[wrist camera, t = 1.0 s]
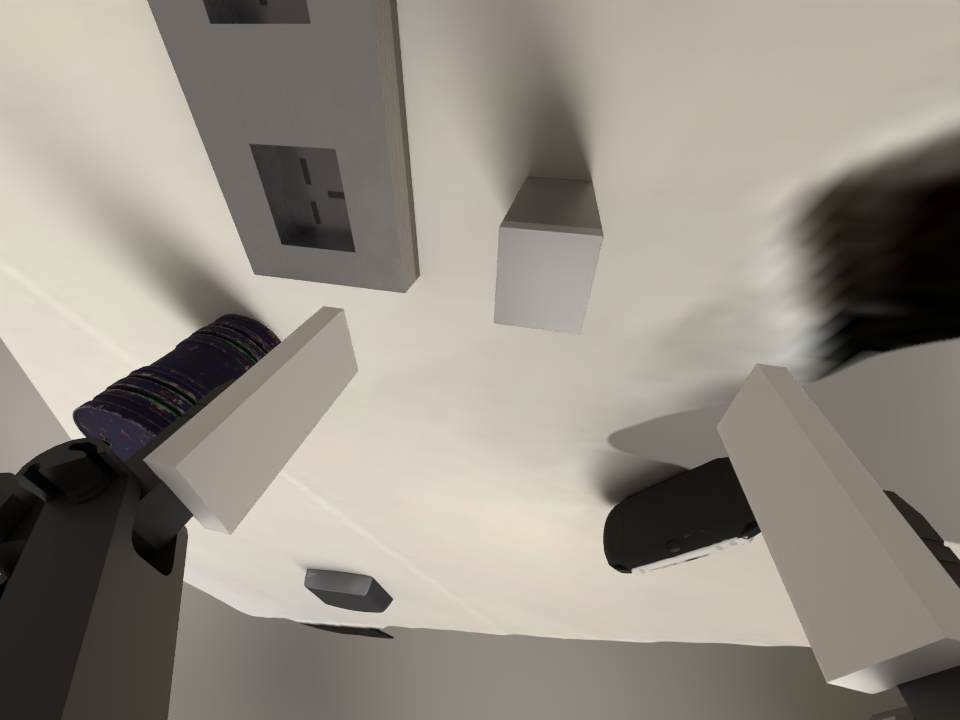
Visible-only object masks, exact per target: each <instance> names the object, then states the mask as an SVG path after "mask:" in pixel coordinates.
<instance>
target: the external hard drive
mask: <svg viewBox="0 0 960 720" xmlns="http://www.w3.org/2000/svg"><path fill="white" fill-rule="evenodd" d="M304 585H305V587H306V588H307V589H309V590H310V591H311V592H312V593H314V594H315V595H316V596H317V597H318V598H320V599H321V600H322V601H323V602H324V603H325V604H328V605H331V606H335V607H339V608H344V609H349V610H354V611H362V612H377V613H381V612H384V611H385V610H386V609H387V607H388V606H389V605H390V603H391V602H392V600H393V599H392V597H391V596H390V595H389V594H388V593H387V592H386V591H385V590H384V589H383V588H382V587H381V586H380V585H379V584H378V583H377V582H376V581H375V579H374V578H372V577H369V576H363V575H357V574H350V573H343V572H334V571H324V570H307V572H306V576H305V583H304Z"/></svg>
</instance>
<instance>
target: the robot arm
mask: <svg viewBox="0 0 960 720" xmlns="http://www.w3.org/2000/svg"><path fill="white" fill-rule="evenodd" d="M357 372H358V367H357V363H356V359H355V355H354V350H353V346H352V342H351V338H350V334H349V330H348V325H347V321H346V317H345V313H344V309H340V308H332V307H325V306H323V307H322V308H321V309H320V310H319V311H317V312H316V313H315V314H314V315H313V316H312V317H310V318H309V319H308V320H307V321H306V322H305V323H303V324H302V325H301V326H300V327H299V328H297V329H296V330H295V331H294V332H293V333H292V334H290V335H289V336H288V337H287V338H286V339H284V340H283V341H282V342H281V343H280V344H279V345H277V346H276V347H275V348H274V349H273V350H272V351H270V352H269V353H268V354H267V355H266V356H264V357H263V358H262V359H261V360H260V361H259V362H257V363H256V364H255V365H254V366H253V367H252V368H250V369H249V370H248V371H247V372H246V373H244V374H243V375H242V376H241V377H240V378H239V379H237V380H236V379H232V380H230V381H228V382H226V383H224V384H222V385H220V386H218V387H216V388H215V389H213V390H211V391H210V392H209V393H208V394H207V395H205V396H204V397H203V398H202V399H200V400H199V401H198V402H197V405H196V406H194V405H193V406H192V407H191V408H189V409H188V410H187V411H186V412H185V413H183V416H182V417H178V418H177V419H176V420H175V421H174V422H172V423H171V424H170V425H169V426H168V427H166V428H165V429H164V430H163V431H161V432H160V433H159V434H158V435H157V436H155V437H154V438H153V439H152V440H150V441H149V442H148V443H147V444H146V445H144V446H143V447H142V448H141V449H139V450H138V451H137V452H136V453H135V454H133V455H132V456H131V457H130V458H128V459H127V460H126V461H124V462H123V461H122V460H121V459H120V458H119V457H118V456H117V455H116V454H115V453H114V452H113V451H112V450H111V449H110V448H109V446H108V445H107V444H106V443H104V442H103V441H102V440H101V439H99V438H89V437H87V438H81V439H76V440H71V441H68V442H66V443H63V444H60V445H57V446H55V447H53V448H51V449H49V450H47V451H45V452H43V453H41V454H39V455H38V456H36V457H35V458H34V459H32V460H31V461H30V462H28V463H27V464H26V465H24V466H23V467H22V468H21V469H20V471H19V472H18V473H17V474H16V475H14V474H12V473H0V573H1V575H0V720H167V719H168V710H169V700H170V692H171V683H172V674H173V664H174V656H175V648H176V638H177V629H178V621H179V612H180V602H181V594H182V585H183V584H182V583H183V576H184V567H185V558H186V549H187V540H188V533H187V528H186V527H185V526H184V525H185V524H186V523H187V522H188V521H189V520H190V519H191V517H192V516H194V517H195V518H196V520H197V521H198V522H199V523H200V524H201V525H202V526H203V527H204V528H206V529H210V530H214V531H218V532H222V533H226V534H230V535H231V534H232V533H233V531H234V530H235V529H236V528H237V526H238V525H239V524H240V522H241V521H242V520H243V519H244V517H245V516H246V515H247V513H248V512H249V511H250V509H251V508H252V507H253V506H254V504H255V503H256V502H257V500H258V499H259V498H260V497H261V495H262V494H263V493H264V491H265V490H266V489H267V488H268V486H269V485H270V484H271V482H272V481H273V480H274V479H275V477H276V476H277V475H278V473H279V472H280V471H281V470H282V468H283V467H284V466H285V464H286V463H287V462H288V461H289V459H290V458H291V457H292V455H293V454H294V453H295V451H296V450H297V449H298V448H299V446H300V445H301V444H302V442H303V441H304V440H305V439H306V437H307V436H308V435H309V433H310V432H311V431H312V430H313V428H314V427H315V426H316V424H317V423H318V422H319V421H320V419H321V418H322V417H323V415H324V414H325V413H326V412H327V410H328V409H329V408H330V406H331V405H332V404H333V403H334V401H335V400H336V399H337V397H338V396H339V395H340V393H341V392H342V391H343V390H344V388H345V387H346V386H347V384H348V383H349V382H350V381H351V379H352V378H353V377H354V375H355V374H356V373H357ZM716 429H717V431H718V433H719V436H720V438H721V440H722V442H723V444H724V447H725V449H726V452H727V454H728V456H729V459H730V461H731V463H732V466H733V468H734V470H735V472H736V475H737V477H738V479H739V482H740V484H741V486H742V489H743V491H744V493H745V495H746V498H747V500H748V502H749V505H750V507H751V509H752V512H753V514H754V516H755V518H756V521H757V523H758V525H759V528H760V530H761V532H762V535H763V537H764V539H765V542H766V544H767V546H768V548H769V551H770V553H771V555H772V558H773V560H774V562H775V565H776V567H777V569H778V571H779V574H780V576H781V578H782V581H783V583H784V585H785V588H786V590H787V592H788V595H789V597H790V599H791V601H792V604H793V606H794V608H795V611H796V613H797V615H798V618H799V620H800V622H801V624H802V627H803V629H804V631H805V634H806V636H807V638H808V641H809V643H810V645H811V648H812V650H813V652H814V654H815V657H816V659H817V661H818V664H819V666H820V668H821V671H822V673H823V675H824V677H825V680H826V682H827V683H830V684H833V685H838V686H842V687H846V688H850V689H854V690H858V691H862V692H866V693H870V694H874V693H878V692H881V691H884V690H887V689H890V688H894V687H898V688H899V690H900V692H901V694H902V696H903V697H904V699H905V701H906V703H907V705H908V706H905V707H901V708H897V709H893V710H890V711H886V712H882V713H878V714H875V715H872V716H871V717H870V719H869V720H960V560H959V559H958V557H957V556H956V555H955V554H954V553H953V552H952V550H951V549H950V548H949V547H946V546H944V541H943V540H942V538H941V537H940V536H939V535H938V534H937V532H936V531H935V530H934V529H933V528H932V526H931V525H930V524H929V523H928V522H927V520H926V519H925V518H924V517H923V516H922V515H921V514H920V513H918V512H917V511H916V510H915V509H914V508H913V507H911V506H910V505H909V504H908V503H906V502H905V501H904V500H903V499H901V498H900V497H899V496H898V495H897V494H895V493H894V492H891V491H885V490H881V488H880V487H879V485H878V484H877V483H876V482H875V481H874V479H873V478H872V477H871V475H870V474H869V473H868V471H867V470H866V469H865V468H864V466H863V465H862V464H861V463H860V462H859V460H858V459H857V457H856V456H855V455H854V454H853V452H852V451H851V450H850V449H849V447H848V446H847V445H846V443H845V442H844V441H843V440H842V438H841V437H840V436H839V435H838V433H837V432H836V431H835V429H833V427H832V426H831V424H830V423H829V422H828V421H827V419H826V418H825V417H824V416H823V414H822V413H821V412H820V410H819V409H818V408H817V407H816V405H815V404H814V403H813V401H812V400H811V399H810V398H809V396H808V395H807V394H806V393H805V391H804V390H803V389H802V387H801V386H800V385H799V384H798V382H797V381H796V380H795V379H794V377H793V376H792V375H791V373H790V372H789V371H788V370H787V368H786V367H779V366H771V365H763V364H756V366H755V367H754V369H753V370H752V372H751V373H750V375H749V377H748V378H747V380H746V381H745V383H744V384H743V386H742V388H741V389H740V391H739V392H738V394H737V395H736V397H735V399H734V400H733V402H732V403H731V405H730V406H729V408H728V410H727V411H726V413H725V415H724V416H723V418H722V419H721V421H720V422H719V424H718V426H717V427H716Z"/></svg>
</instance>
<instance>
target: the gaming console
mask: <svg viewBox="0 0 960 720" xmlns="http://www.w3.org/2000/svg"><path fill="white" fill-rule="evenodd" d="M760 532H761V530H760V528H759V525H758V523H757V521H756V518H755V516H754V514H753V512H752V509H751V507H750V505H749V502H748V500H747V498H746V495H745V493H744V491H743V489H742V486H741V484H740V482H739V479H738V477H737V475H736V472H735V470H734V468H733V466H732V463H731V461H730V459H729V457H725V458H717V459H715V460H712V461H710V462H708V463H705V464H703V465H701V466H699V467H696V468H694V469H692V470H689V471H687V472H685V473H683V474H680V475H678V476H676V477H674V478H672V479H669V480H667V481H665V482H663V483H660V484H658V485H656V486H654V487H652V488H649V489H647V490H645V491H643V492H641V493H639V494H637V495H634V496H632V497H630V498H628V499H626V500H624V501H622V502H620V503H619V504H618V505H616V506H615V507H614V508H613V509H612V510H611V512H610V513H609V515H608V517H607V519H606V522H605V527H604V534H603V544H604V552H605V556H606V558H607V561H608V564H609V565H610V566H611V567H613V568H614V569H615V570H617V571H618V572H621V573H633V574H635V575H639V574H643V573H647V572H650V571H654V570H658V569H662V568H665V567H669V566H672V565H676V564H680V563H683V562H687V561H690V560H694V559H697V558H701V557H705V556H708V555H711V554H715V553H718V552H721V551H725V550H728V549H731V548H734V547H738V546H741V545H744V544H747V543H750V542H751V541H752V540H753V538H754V536H756V535H757V534H759V533H760Z"/></svg>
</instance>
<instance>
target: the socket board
mask: <svg viewBox="0 0 960 720" xmlns="http://www.w3.org/2000/svg"><path fill="white" fill-rule="evenodd" d="M147 1H148V3H149V6H150V8H151V11H152V13H153V16H154V18H155V21H156V24H157V26H158V29H159V31H160V34H161V36H162V39H163V41H164V44H165V47H166V49H167V52H168V54H169V57H170V59H171V62H172V65H173V67H174V70H175V72H176V75H177V77H178V80H179V82H180V85H181V88H182V90H183V93H184V95H185V98H186V100H187V103H188V106H189V108H190V111H191V113H192V116H193V118H194V121H195V123H196V126H197V129H198V131H199V134H200V136H201V139H202V141H203V144H204V146H205V149H206V152H207V154H208V157H209V159H210V162H211V164H212V167H213V170H214V172H215V175H216V177H217V180H218V182H219V185H220V187H221V190H222V193H223V195H224V198H225V200H226V203H227V205H228V208H229V210H230V213H231V216H232V218H233V221H234V223H235V226H236V228H237V231H238V234H239V236H240V239H241V241H242V244H243V246H244V249H245V251H246V254H247V257H248V259H249V262H250V264H251V267H252V269H253V272H254V274H255V275H263V276H271V277H279V278H287V279H295V280H303V281H312V282H320V283H328V284H336V285H344V286H352V287H360V288H368V289H376V290H384V291H392V292H400V293H406V291H407V290H408V289H409V288H410V287H411V286H412V284H413V283H414V282H415V281H416V280H417V278H418V277H419V276H420V273H419V261H418V249H417V238H416V226H415V214H414V203H413V191H412V179H411V168H410V156H409V144H408V133H407V121H406V109H405V98H404V86H403V74H402V63H401V51H400V39H399V28H398V16H397V4H396V0H147Z"/></svg>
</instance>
